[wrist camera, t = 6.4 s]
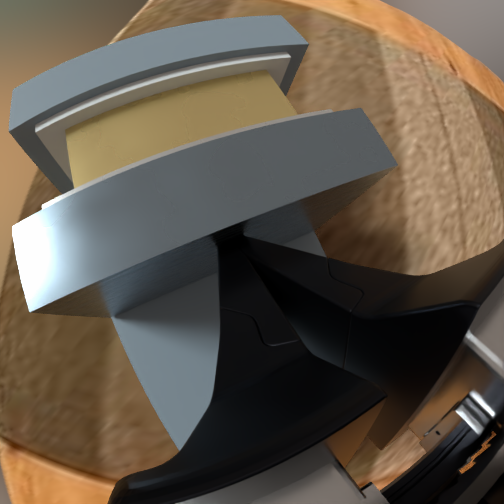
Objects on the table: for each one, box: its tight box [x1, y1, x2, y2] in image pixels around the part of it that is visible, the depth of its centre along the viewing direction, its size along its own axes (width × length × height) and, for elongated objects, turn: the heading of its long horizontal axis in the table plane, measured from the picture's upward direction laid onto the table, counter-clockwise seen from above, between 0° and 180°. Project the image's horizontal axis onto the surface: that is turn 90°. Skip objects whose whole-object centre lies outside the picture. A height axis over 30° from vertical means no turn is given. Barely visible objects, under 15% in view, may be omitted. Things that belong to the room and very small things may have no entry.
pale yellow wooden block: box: [65, 70, 298, 189], centre depth 12 cm, size 3×8×7 cm, turn 115°
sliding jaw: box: [12, 108, 398, 318], centre depth 11 cm, size 3×12×8 cm, turn 115°
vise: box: [9, 15, 326, 451], centre depth 12 cm, size 22×12×10 cm, turn 25°
